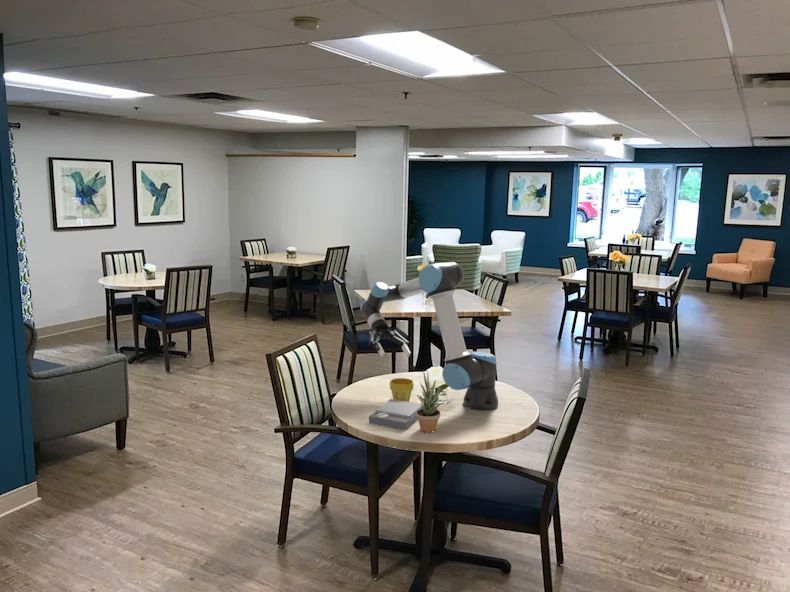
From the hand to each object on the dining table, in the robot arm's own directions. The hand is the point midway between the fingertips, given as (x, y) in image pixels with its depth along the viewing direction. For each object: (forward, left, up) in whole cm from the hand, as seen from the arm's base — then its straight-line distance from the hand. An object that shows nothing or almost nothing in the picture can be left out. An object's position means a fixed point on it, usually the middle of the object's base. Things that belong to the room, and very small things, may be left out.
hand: (396, 355), depth 281 cm
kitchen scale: (-11, +22, -20) cm, 31 cm away
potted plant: (-27, +28, -20) cm, 44 cm away
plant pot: (-5, +5, -20) cm, 21 cm away
